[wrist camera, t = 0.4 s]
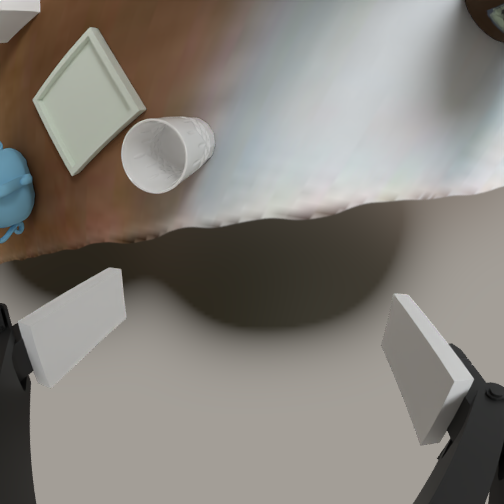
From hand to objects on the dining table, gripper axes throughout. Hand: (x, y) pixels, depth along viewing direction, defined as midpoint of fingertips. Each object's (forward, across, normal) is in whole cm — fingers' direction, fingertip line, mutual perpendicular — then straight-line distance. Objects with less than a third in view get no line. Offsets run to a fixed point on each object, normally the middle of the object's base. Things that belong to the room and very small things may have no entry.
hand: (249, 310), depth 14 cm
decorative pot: (+29, -52, +6) cm, 60 cm away
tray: (+25, -30, +18) cm, 42 cm away
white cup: (+25, -12, +10) cm, 30 cm away
